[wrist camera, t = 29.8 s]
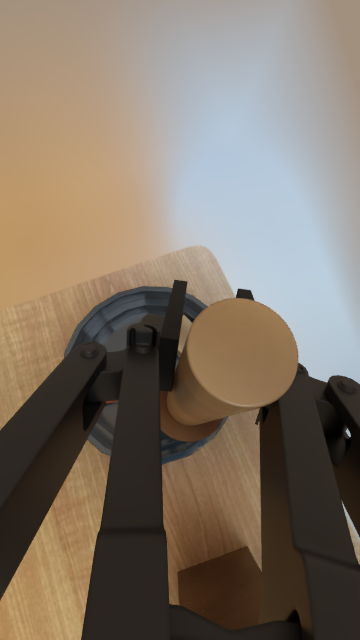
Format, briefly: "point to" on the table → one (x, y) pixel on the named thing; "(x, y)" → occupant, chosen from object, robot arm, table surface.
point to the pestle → (228, 368)
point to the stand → (224, 590)
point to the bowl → (111, 331)
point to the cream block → (183, 333)
